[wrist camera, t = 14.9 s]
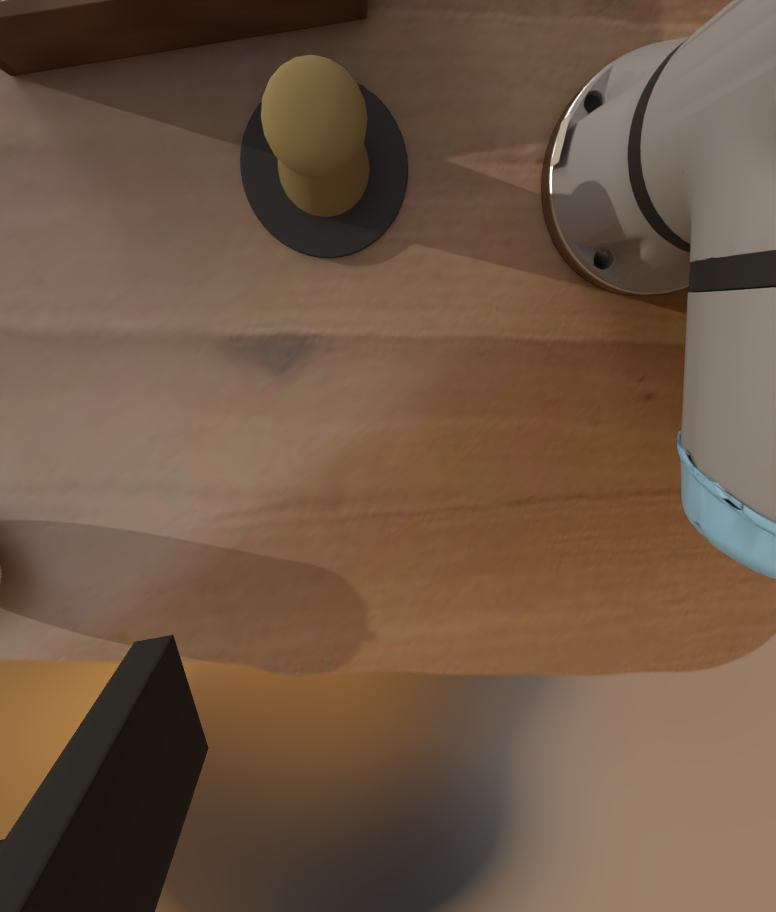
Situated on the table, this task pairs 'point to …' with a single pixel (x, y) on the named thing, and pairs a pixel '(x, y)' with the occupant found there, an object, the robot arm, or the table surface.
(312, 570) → the table surface
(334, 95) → the cork
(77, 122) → the table surface
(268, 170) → the coaster
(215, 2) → the box
